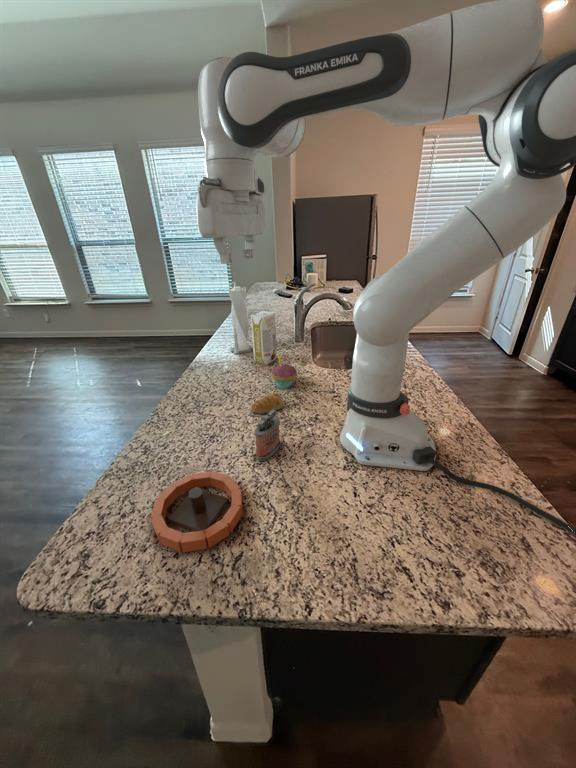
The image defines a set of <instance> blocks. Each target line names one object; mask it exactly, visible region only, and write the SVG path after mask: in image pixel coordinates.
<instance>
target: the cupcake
mask: <svg viewBox="0 0 576 768" xmlns="http://www.w3.org/2000/svg"><path fill="white" fill-rule="evenodd" d="M277 357H278V362H279V364H278V365H276V366H274V367H273V368H272V369H271V371H270V374H271V377H272V379H273V380H274V381H275V383H276V386H277V387H278V388H280V389H288V388H290V387H291V386H292V384H293V381H294V380H295V379H296V378H297V375H298V371H297V369H296V367H294V366H293V365H291V364H287V363H285V364H282V359H281V358H282V357H281V353H280V352H279V351H277Z"/></svg>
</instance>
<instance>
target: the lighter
mask: <svg viewBox="0 0 576 768" xmlns="http://www.w3.org/2000/svg"><path fill="white" fill-rule="evenodd" d="M280 421H281V419H280V417H278V416H277V410H276V411H275V410H272V411H270V412H269V413H266V414H262V416H261V417H260V419H259V420H258V421H257V426H256V428H254V430H253V435H254V437H255V448H256V453H255V458H256V460H257V461H260V462H261V461H262V462H264V461H266V460H267V459H269V458H270V457H272V456H273V455H274V454H275V453H276V452H277V451H278V450H279V448H280V446H281V440H280Z"/></svg>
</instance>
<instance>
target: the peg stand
mask: <svg viewBox="0 0 576 768" xmlns="http://www.w3.org/2000/svg"><path fill="white" fill-rule="evenodd" d="M228 503H229V498H227V497H225V496H220V495H218V494H216V493H212V492H209V491H206V490H204V489H202V487H200V488H194V489H192V490H190V491H188V494H187V496H186V497H185V498H184V499H183V500H182V501H181V503H180V504H179V505H178V506H177V507H176V508H175V510H174V511H173V512H172V513H171V514H170V515H169V517H167V519H168V523H170V524H172V525H175V526H179V527H181V528H184V529H186V530H189V531H191V532H196V531H203V530H205V529H207V528H209V527H210V526H212V525H214V524H215V523H216V521H217V519H218V518H219V516H220V515H221V513H223V510H224V509H225V508H226V506H227V505H228Z"/></svg>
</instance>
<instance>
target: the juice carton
mask: <svg viewBox="0 0 576 768" xmlns="http://www.w3.org/2000/svg"><path fill="white" fill-rule="evenodd" d="M250 324H251V338H252V350H253V351H252V352H253V361H254V363H258V364H261V365H265V366H267V365H269V364H270V363H272V362H274V361H276V360H277V357H278V352H277V329H276V314H275V312H272V311H266V310H260V311H259V312H257V313H252V314H250Z"/></svg>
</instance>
